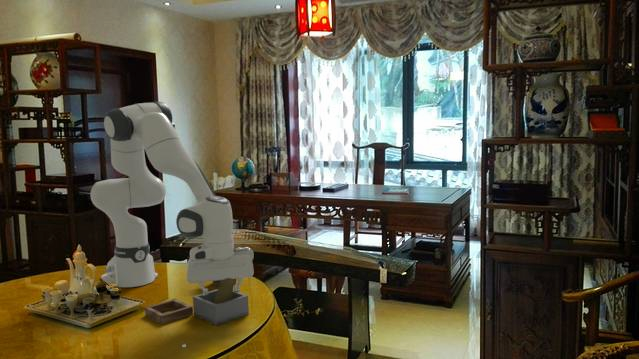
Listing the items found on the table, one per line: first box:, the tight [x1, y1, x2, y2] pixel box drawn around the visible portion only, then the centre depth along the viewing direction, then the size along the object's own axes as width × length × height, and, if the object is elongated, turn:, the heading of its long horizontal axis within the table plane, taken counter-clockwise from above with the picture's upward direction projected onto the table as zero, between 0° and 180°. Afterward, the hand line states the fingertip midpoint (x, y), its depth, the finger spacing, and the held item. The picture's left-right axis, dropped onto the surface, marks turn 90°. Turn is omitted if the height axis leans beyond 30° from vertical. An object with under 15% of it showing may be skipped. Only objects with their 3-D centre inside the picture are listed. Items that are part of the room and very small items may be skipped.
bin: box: [192, 289, 250, 327], centre depth 160 cm, size 12×12×6 cm
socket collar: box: [144, 298, 194, 325], centre depth 160 cm, size 10×10×2 cm
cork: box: [213, 278, 237, 304], centre depth 159 cm, size 6×6×11 cm
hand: (221, 293), depth 159 cm, fingers open, 8 cm apart
